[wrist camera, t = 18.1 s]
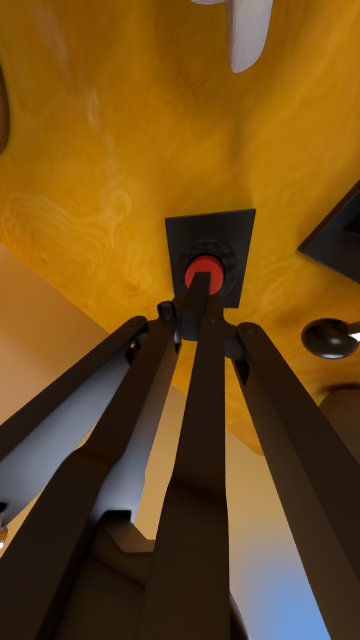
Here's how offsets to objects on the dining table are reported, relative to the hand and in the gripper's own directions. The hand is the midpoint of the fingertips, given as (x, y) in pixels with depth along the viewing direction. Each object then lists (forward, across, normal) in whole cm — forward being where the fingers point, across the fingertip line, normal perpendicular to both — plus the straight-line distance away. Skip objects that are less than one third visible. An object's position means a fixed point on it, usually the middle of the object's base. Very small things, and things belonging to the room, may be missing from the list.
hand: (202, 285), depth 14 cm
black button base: (+6, 0, 0) cm, 6 cm away
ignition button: (+3, 0, 0) cm, 3 cm away
